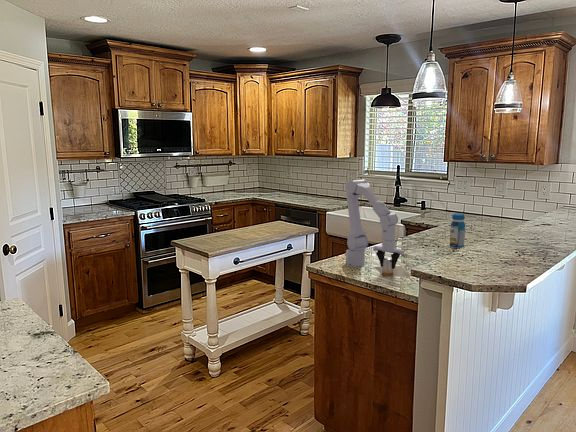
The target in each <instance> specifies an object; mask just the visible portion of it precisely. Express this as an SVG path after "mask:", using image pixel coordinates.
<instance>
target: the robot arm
mask: <svg viewBox="0 0 576 432" xmlns="http://www.w3.org/2000/svg"><path fill="white" fill-rule="evenodd" d="M345 192H346V195H345V196H346V202H347V203H346V204H347V210H348V217H349V218H348V219H349V225H350V227H349V228H350V232H349V233H348V234H347V242H346V245H347V247H348V249H346V250H345V265H346V266H347V267H362V266H365V264H366V249H367V247H368V246H369V239H368V237H367V233H366V232H365V230H363V229H362V220H361V213H360V206H359V198H360V196H361V195H363V196H364V198H366V200H367V201H368V202H369V203H370V204H371V205H372V210H373V211H374V213H375V214H376V215H377V217H378V218H379V223H380V226H381V230H382V235H381V236H382V238H381V241H382V242H381V246H380V245H379V246H377V245H375V246H372V247H373V250H372V251H373V252H376V253H375V255H376V256H377V259H378V260H379V261H378V262H379V265H380V267H382V260H383V258H386V257H385V255H386V253H389V254H390V256H391V257H390V258H392V269H394V268H395V266H397V262H398V260H399V258H400V257H401V256H403V255H405V254H404V253H405V250H404V249H401V248H396V247H395V246H396V245H395V244H396V225H397V224H398V221H399V217H398V215H397V214H396V213H394V212H392V211H391V210H390V209H389V208H388V207H387V206H386V203H385V202H384V201H380V200H378V198H377V196H376V195H375V194H374V192H373V190H372V189H371V185H370V183H369V182H368V181H367V179H363V178H362V179H353V180H352V179H350V180H348V182H347V183H346V185H345Z"/></svg>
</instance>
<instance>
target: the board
mask: <svg viewBox="0 0 576 432" xmlns="http://www.w3.org/2000/svg"><path fill="white" fill-rule="evenodd" d="M374 268H375V269H376V270H377V272H378V273H380V275H381V276H382V277H383V278H390V277H391V278H393V277H398V278H399V277H411V276H412V274H410V273H409V272H408V271H407V270H405V268H403V267H402V266H401V265H396V266H395V268H394V272H393V274H392V275H386V274H383V273H382V267H381V266H374Z"/></svg>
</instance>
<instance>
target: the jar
mask: <svg viewBox="0 0 576 432" xmlns="http://www.w3.org/2000/svg"><path fill="white" fill-rule="evenodd" d="M393 272H394V270H390V271H387V270H383V269H382V273H383V274H386V275H392V274H393Z"/></svg>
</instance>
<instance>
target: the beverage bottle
mask: <svg viewBox="0 0 576 432" xmlns="http://www.w3.org/2000/svg"><path fill="white" fill-rule="evenodd" d="M465 215H466V214H464V213H459V212H457V213H452V214H451V220H452V221H451V223H450V225H449V226H450V229H449V232H450V234H449V235H450V236H449V237H450V238H449V248H451V249H454V248H462V247H464V248H465V237H466V224H465V217H466V216H465Z"/></svg>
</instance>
